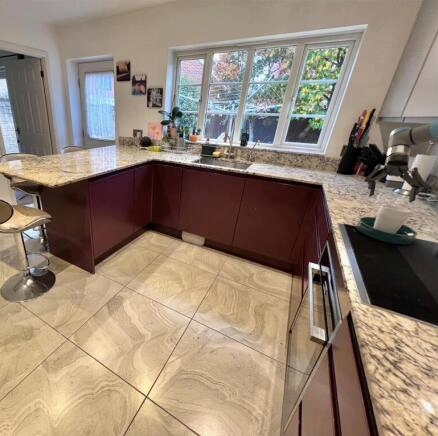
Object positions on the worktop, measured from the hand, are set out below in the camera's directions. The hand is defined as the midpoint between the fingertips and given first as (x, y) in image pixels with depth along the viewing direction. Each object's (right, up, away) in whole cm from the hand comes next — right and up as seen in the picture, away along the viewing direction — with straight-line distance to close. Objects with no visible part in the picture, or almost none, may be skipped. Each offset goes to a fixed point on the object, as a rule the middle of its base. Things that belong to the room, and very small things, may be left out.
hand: (391, 198), depth 104 cm
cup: (-7, -16, -3) cm, 18 cm away
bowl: (-7, -16, -3) cm, 18 cm away
